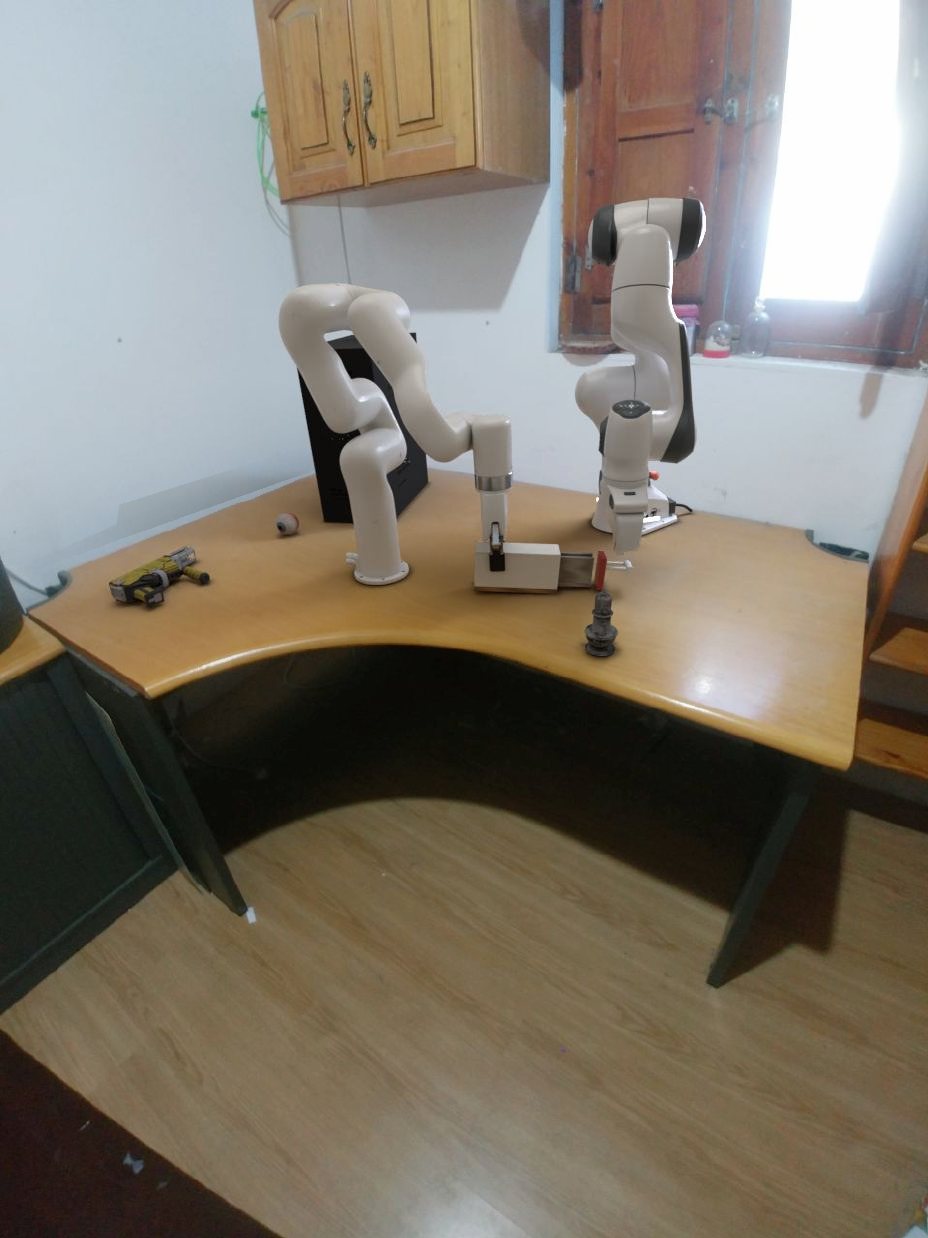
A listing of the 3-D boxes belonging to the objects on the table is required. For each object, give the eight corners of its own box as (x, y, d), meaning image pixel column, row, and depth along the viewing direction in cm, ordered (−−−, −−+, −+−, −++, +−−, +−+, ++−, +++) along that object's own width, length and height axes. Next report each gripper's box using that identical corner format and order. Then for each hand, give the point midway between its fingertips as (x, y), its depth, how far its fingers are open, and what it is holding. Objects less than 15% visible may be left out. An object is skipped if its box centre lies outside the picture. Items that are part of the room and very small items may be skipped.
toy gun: (232, 554, 147) (182, 544, 151) (158, 595, 127) (102, 582, 130) (235, 572, 149) (185, 561, 153) (162, 615, 129) (107, 601, 133)
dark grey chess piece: (616, 658, 105) (622, 597, 99) (582, 655, 106) (586, 595, 100) (616, 640, 110) (621, 581, 104) (583, 638, 111) (587, 580, 105)
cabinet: (554, 582, 132) (558, 544, 128) (556, 593, 127) (560, 554, 123) (475, 579, 133) (476, 541, 128) (474, 590, 128) (475, 551, 124)
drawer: (626, 582, 131) (631, 551, 127) (630, 591, 127) (635, 560, 123) (524, 578, 132) (526, 548, 128) (524, 587, 128) (527, 556, 124)
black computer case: (391, 523, 168) (370, 347, 145) (324, 521, 172) (293, 350, 150) (428, 482, 199) (416, 332, 177) (370, 481, 204) (351, 334, 181)
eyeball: (273, 537, 164) (268, 516, 161) (287, 528, 169) (282, 508, 166) (291, 539, 161) (286, 518, 158) (305, 530, 166) (301, 510, 163)
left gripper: (476, 469, 127) (481, 549, 136) (473, 495, 112) (478, 583, 121) (512, 467, 126) (514, 547, 135) (513, 493, 111) (516, 581, 120)
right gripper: (600, 472, 128) (596, 532, 135) (615, 508, 110) (610, 575, 117) (631, 471, 127) (625, 532, 134) (650, 507, 110) (643, 574, 117)
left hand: (497, 563), depth 128 cm, fingers closed on cabinet, 5 cm apart
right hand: (618, 552), depth 126 cm, fingers closed
